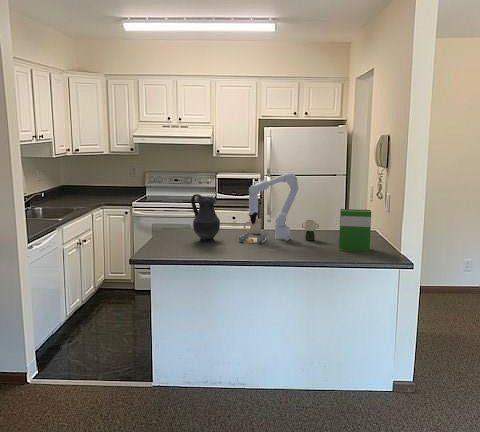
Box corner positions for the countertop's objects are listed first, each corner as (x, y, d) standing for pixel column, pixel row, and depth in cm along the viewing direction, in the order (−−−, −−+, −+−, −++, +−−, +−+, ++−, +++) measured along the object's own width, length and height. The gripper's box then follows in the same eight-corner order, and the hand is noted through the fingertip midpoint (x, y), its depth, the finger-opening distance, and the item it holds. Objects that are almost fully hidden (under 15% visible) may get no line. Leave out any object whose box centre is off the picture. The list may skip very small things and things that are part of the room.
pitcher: (207, 245, 312) (207, 197, 306) (183, 240, 324) (182, 195, 319) (225, 240, 325) (225, 194, 320) (201, 236, 338) (200, 192, 332)
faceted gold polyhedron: (254, 242, 317) (254, 238, 316) (251, 243, 312) (251, 240, 312) (248, 241, 318) (248, 238, 318) (245, 243, 314) (245, 239, 314)
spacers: (266, 239, 326) (266, 233, 325) (261, 244, 312) (261, 238, 312) (244, 237, 330) (244, 232, 329) (238, 242, 316) (238, 237, 315)
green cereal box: (339, 250, 300) (340, 211, 296) (339, 247, 307) (340, 209, 303) (369, 251, 297) (371, 211, 293) (368, 248, 304) (370, 209, 300)
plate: (266, 239, 327) (266, 238, 327) (261, 245, 312) (261, 244, 312) (244, 238, 331) (244, 237, 331) (238, 243, 316) (238, 242, 316)
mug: (260, 235, 341) (260, 220, 339) (242, 234, 343) (242, 220, 341) (262, 232, 349) (262, 218, 347) (244, 232, 351) (244, 218, 349)
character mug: (318, 239, 330) (318, 219, 327) (318, 241, 323) (319, 221, 320) (301, 238, 331) (302, 219, 329) (301, 241, 324) (302, 221, 322)
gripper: (250, 201, 335) (250, 221, 338) (244, 204, 321) (244, 225, 324) (260, 201, 333) (260, 221, 336) (255, 205, 320) (255, 225, 322)
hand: (253, 223), depth 330 cm, fingers closed
